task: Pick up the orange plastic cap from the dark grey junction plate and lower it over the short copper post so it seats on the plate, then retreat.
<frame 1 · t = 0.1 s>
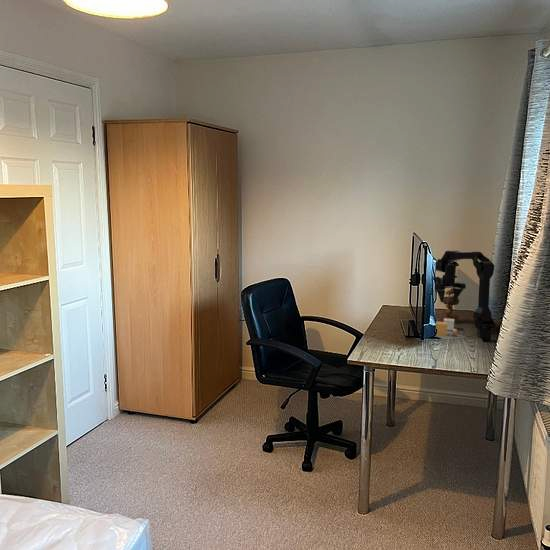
hand: (448, 301, 307), 15 cm above the table, tool pointing down, fingers open, 9 cm apart
grey cap: (448, 330, 302), on the table
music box: (449, 321, 325), on the table
junction plate: (445, 337, 288), on the table
orange cap: (441, 334, 288), point 1 cm above the table, touching junction plate
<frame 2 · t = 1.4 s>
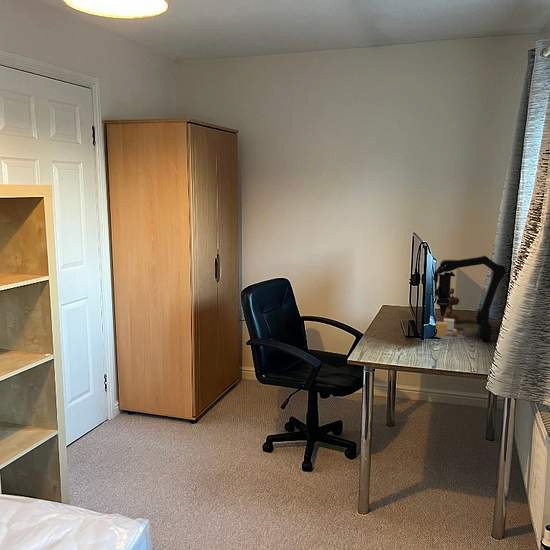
hand: (442, 314, 287), 12 cm above the table, tool pointing down, fingers open, 9 cm apart
nothing on the table moved.
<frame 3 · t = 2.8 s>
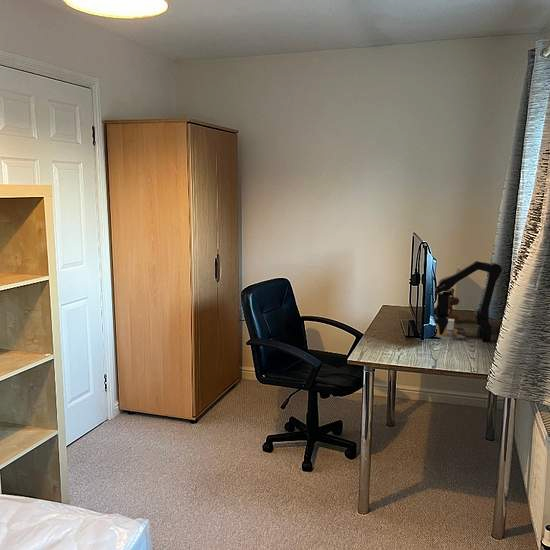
hand: (441, 333, 288), 2 cm above the table, tool pointing down, fingers closed on orange cap, 5 cm apart
orange cap: (441, 334, 288), point 1 cm above the table, touching gripper, junction plate
everything else where it was.
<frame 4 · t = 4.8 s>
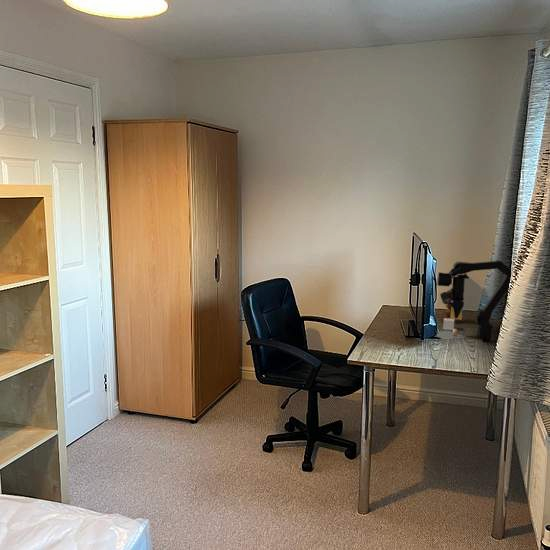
hand: (456, 316, 285), 11 cm above the table, tool pointing down, fingers closed on orange cap, 5 cm apart
orange cap: (456, 318, 285), point 10 cm above the table, touching gripper
everything else where it was.
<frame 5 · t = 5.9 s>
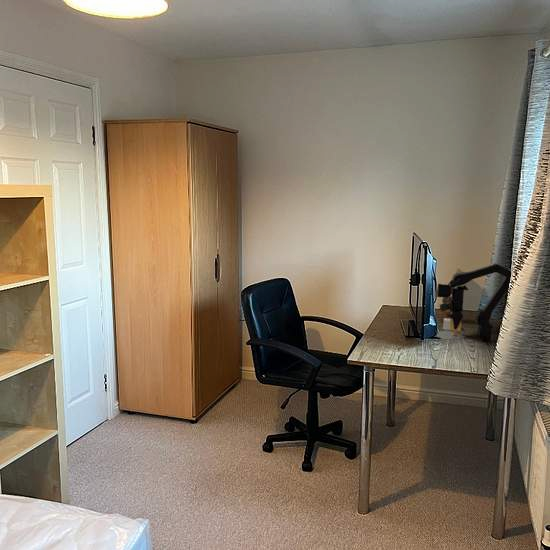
hand: (455, 328, 286), 5 cm above the table, tool pointing down, fingers closed on orange cap, 5 cm apart
orange cap: (455, 329, 286), point 5 cm above the table, touching gripper
everything else where it was.
when the fingers open (3 cm above the table, at t = 6.9 s): orange cap drops 1 cm, resting on junction plate.
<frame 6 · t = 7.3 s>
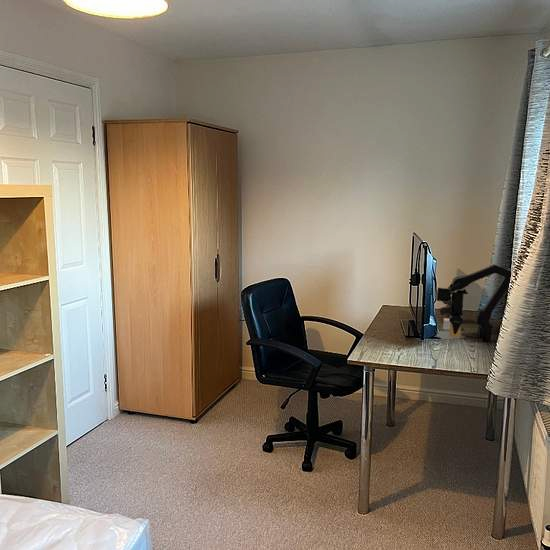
hand: (455, 331, 286), 3 cm above the table, tool pointing down, fingers open, 9 cm apart
orange cap: (454, 335, 286), point 1 cm above the table, touching junction plate
everything else where it was.
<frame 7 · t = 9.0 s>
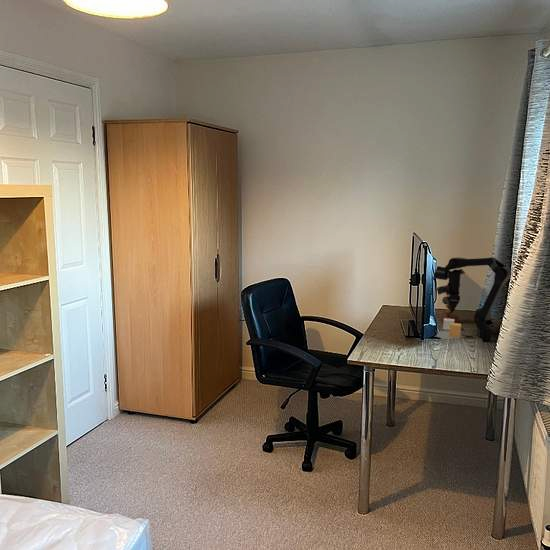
hand: (451, 310, 294), 12 cm above the table, tool pointing down, fingers open, 9 cm apart
nothing on the table moved.
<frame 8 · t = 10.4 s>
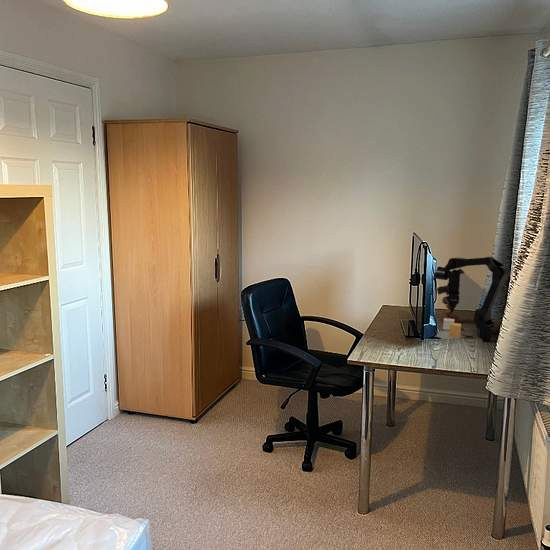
hand: (452, 310, 296), 12 cm above the table, tool pointing down, fingers open, 9 cm apart
nothing on the table moved.
at the end: orange cap 0.0 cm from the target spot on the junction plate, point 1.2 cm above the junction plate's base; orange cap tilted 0°; the gripper is holding nothing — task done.
